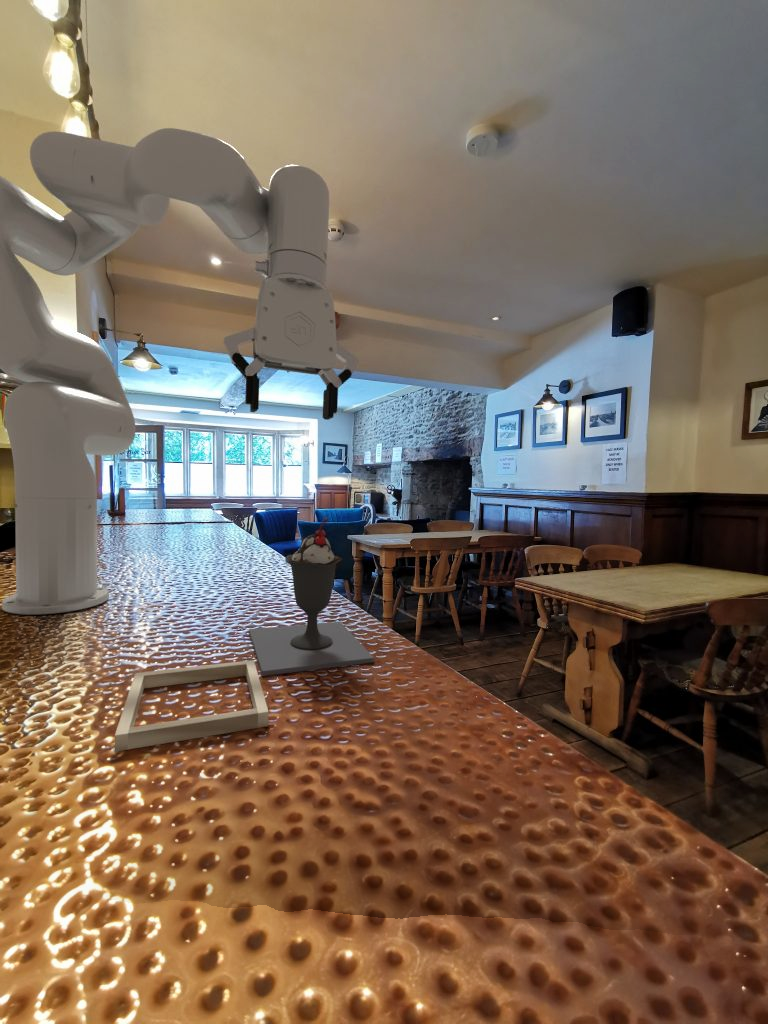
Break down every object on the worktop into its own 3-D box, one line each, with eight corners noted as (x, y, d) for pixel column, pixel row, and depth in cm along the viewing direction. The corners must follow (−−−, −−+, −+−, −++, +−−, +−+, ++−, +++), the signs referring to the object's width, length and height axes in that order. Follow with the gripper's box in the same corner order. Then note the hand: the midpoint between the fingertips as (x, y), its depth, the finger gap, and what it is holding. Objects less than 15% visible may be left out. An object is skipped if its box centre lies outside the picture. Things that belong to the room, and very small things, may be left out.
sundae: (330, 655, 49) (335, 520, 48) (273, 649, 50) (277, 516, 49) (346, 636, 55) (351, 516, 54) (296, 630, 56) (299, 513, 55)
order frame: (135, 685, 41) (135, 673, 41) (253, 671, 45) (253, 660, 45) (114, 751, 31) (114, 735, 31) (268, 726, 35) (268, 711, 35)
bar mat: (249, 632, 56) (249, 629, 56) (339, 625, 61) (339, 621, 61) (262, 676, 44) (262, 671, 44) (373, 662, 49) (374, 657, 49)
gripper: (226, 250, 50) (223, 403, 51) (370, 283, 57) (363, 418, 58) (223, 277, 57) (220, 411, 58) (351, 303, 63) (346, 424, 65)
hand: (292, 414), depth 58 cm, fingers open, 9 cm apart
